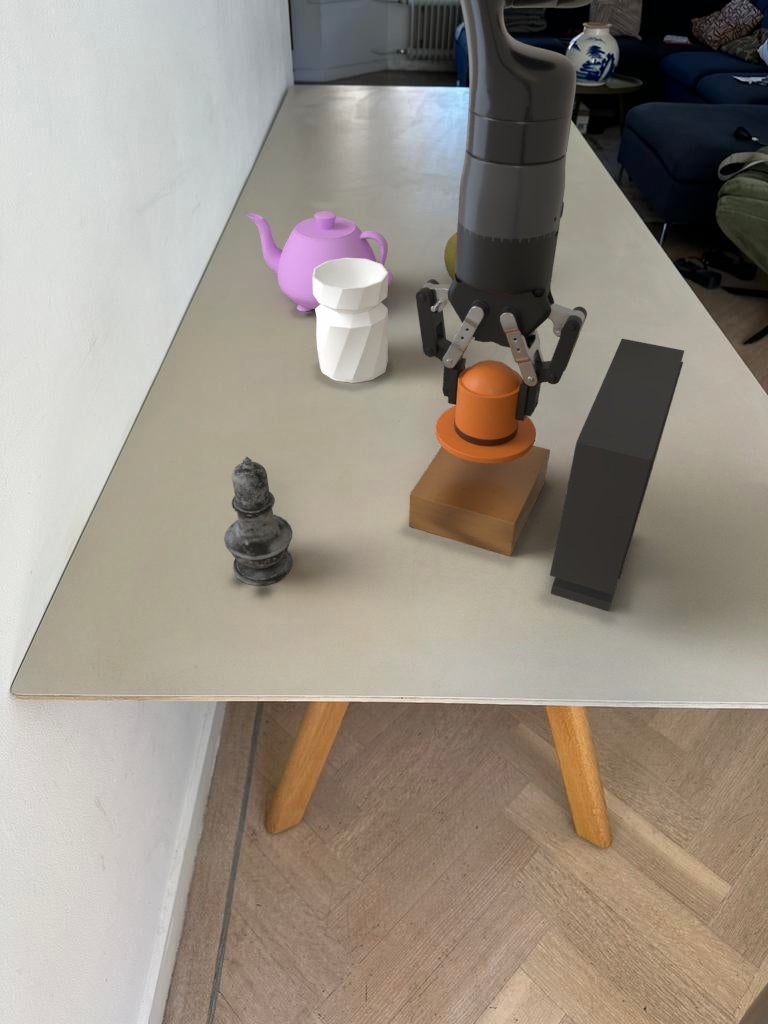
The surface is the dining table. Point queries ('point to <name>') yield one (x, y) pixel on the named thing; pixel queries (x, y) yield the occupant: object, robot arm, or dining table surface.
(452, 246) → the apple
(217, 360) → the dining table surface
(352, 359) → the vase
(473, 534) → the stand
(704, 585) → the dining table surface
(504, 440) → the hat
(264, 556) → the chess piece
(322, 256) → the teapot
